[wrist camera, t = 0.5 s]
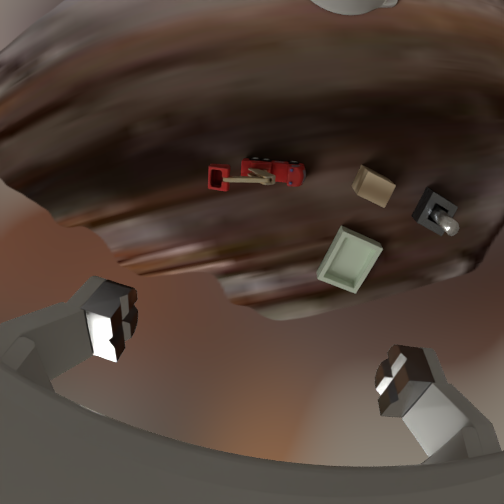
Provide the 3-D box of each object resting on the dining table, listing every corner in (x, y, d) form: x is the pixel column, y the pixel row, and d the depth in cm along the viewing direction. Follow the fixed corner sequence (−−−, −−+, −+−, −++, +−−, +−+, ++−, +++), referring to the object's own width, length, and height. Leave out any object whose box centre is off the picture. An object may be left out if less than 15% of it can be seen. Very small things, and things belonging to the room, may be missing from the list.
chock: (361, 164, 47) (368, 171, 43) (387, 177, 47) (395, 185, 43) (351, 185, 49) (357, 194, 45) (376, 198, 49) (384, 207, 45)
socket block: (426, 186, 47) (433, 191, 44) (450, 201, 47) (457, 207, 45) (411, 216, 50) (417, 222, 47) (435, 229, 50) (441, 236, 47)
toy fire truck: (304, 181, 50) (306, 199, 41) (221, 174, 51) (206, 190, 42) (306, 162, 48) (309, 175, 40) (221, 154, 49) (206, 166, 41)
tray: (341, 225, 52) (343, 231, 50) (379, 242, 53) (383, 248, 51) (316, 271, 57) (317, 278, 55) (353, 286, 57) (355, 293, 55)
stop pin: (429, 200, 48) (451, 218, 40) (439, 205, 48) (461, 225, 40) (423, 211, 49) (443, 232, 41) (433, 217, 49) (454, 238, 41)
